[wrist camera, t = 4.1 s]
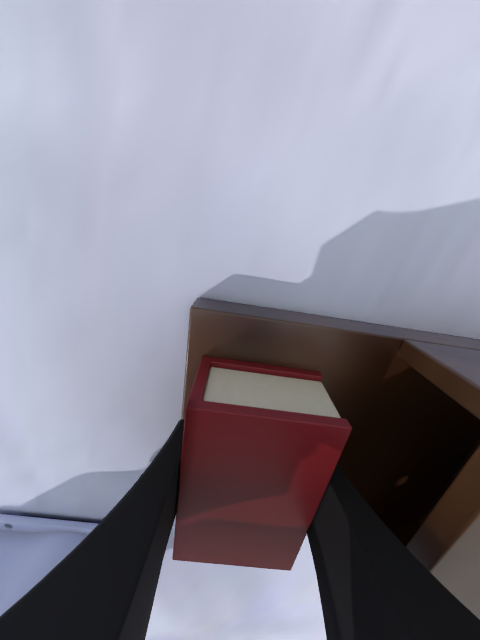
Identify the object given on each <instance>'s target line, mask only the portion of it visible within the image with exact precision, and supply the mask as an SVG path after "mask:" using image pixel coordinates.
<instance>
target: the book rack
mask: <svg viewBox="0 0 480 640" xmlns="http://www.w3.org/2000/svg"><path fill="white" fill-rule="evenodd" d="M202 356H209V357H216V358H223V359H230V360H238V361H245V362H252V363H260V364H267V365H274V366H282V367H289V368H296V369H303V370H311V371H318V372H320V373H321V375H322V380H321V383H322V384H323V386H324V388H325V390H326V392H327V393H328V395H329V397H330V399H331V401H332V402H333V404H334V406H335V408H336V410H337V412H338V413H339V415H340V417H341V418H344V419H347V420H348V422H349V423H350V425H351V427H352V430H351V433H350V435H349V437H348V440H347V442H346V444H345V446H344V449H343V451H342V453H341V456H340V458H339V460H338V463H337V464H338V466H339V467H340V468H341V470H342V471H343V472H344V474H345V475H346V476H347V478H348V479H349V480H350V482H351V483H352V484H353V486H354V487H355V488H356V490H357V491H358V492H359V493H360V495H361V496H362V497H363V498H364V500H365V501H366V502H367V503H368V504H369V506H370V507H371V508H372V509H373V510H374V512H375V513H376V514H377V515H378V516H379V518H380V519H381V520H382V521H383V522H384V523H385V525H386V526H387V527H388V528H389V529H390V530H391V531H392V532H393V533H394V535H395V536H396V537H397V538H398V539H399V540H400V541H401V542H402V543H403V544H404V546H405V547H406V548H407V549H408V550H409V551H410V552H411V553H412V554H413V555H414V556H415V557H416V558H417V559H418V560H419V561H420V562H421V563H422V564H423V565H424V566H425V567H426V568H427V569H428V570H429V571H430V572H431V573H432V574H433V575H434V576H435V578H436V579H437V580H438V581H439V582H440V583H441V584H442V585H443V586H445V587H446V588H447V589H448V590H449V591H450V592H451V593H452V594H453V595H454V596H455V597H456V598H457V599H458V600H459V601H460V602H461V603H462V604H463V605H464V606H465V607H466V608H468V609H469V610H470V611H471V612H472V613H473V614H474V615H475V616H476V617H477V618H478V619H479V620H480V340H477V339H471V338H464V337H457V336H451V335H444V334H437V333H431V332H424V331H418V330H411V329H404V328H398V327H391V326H384V325H378V324H371V323H364V322H358V321H351V320H344V319H338V318H331V317H324V316H318V315H311V314H304V313H298V312H291V311H284V310H278V309H271V308H264V307H258V306H251V305H244V304H238V303H231V302H225V301H218V300H211V299H205V298H197V299H196V301H195V302H194V304H193V305H192V306H191V308H190V318H189V331H188V344H187V356H186V369H185V381H184V394H183V406H182V419H183V420H184V419H185V408H186V405H187V401H188V398H189V395H190V392H191V389H192V386H193V383H194V380H195V377H196V374H197V371H198V368H199V364H200V361H201V358H202Z"/></svg>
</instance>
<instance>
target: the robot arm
mask: <svg viewBox="0 0 480 640" xmlns="http://www.w3.org/2000/svg"><path fill="white" fill-rule="evenodd" d="M183 431H184V420H183V419H181V420H180V421H179V422H178V424H177V425H176V427H175V429H174V431H173V432H172V434H171V435H170V437H169V439H168V440H167V442H166V443H165V445H164V446H163V447H162V449H161V450H160V452H159V453H158V454H157V456H156V457H155V458H154V460H153V461H152V463H151V464H150V465H149V467H148V468H147V469H146V470H145V472H144V473H143V474H142V475H141V477H140V478H139V479H138V480H137V482H136V483H135V484H134V485H133V486H132V488H131V489H130V490H129V491H128V492H127V493H126V495H125V496H124V497H123V498H122V499H121V500H120V501H119V503H118V504H117V505H116V506H115V507H114V508H113V509H112V510H111V511H110V512H109V514H108V515H107V516H106V517H105V518H104V519H103V520H102V521H101V522H100V523H99V524H98V523H88V522H78V521H68V520H57V519H47V518H37V517H27V516H17V515H6V514H0V640H145V637H146V632H147V628H148V623H149V619H150V614H151V610H152V606H153V601H154V597H155V592H156V588H157V583H158V579H159V575H160V570H161V566H162V561H163V557H164V554H165V550H166V546H167V543H168V539H169V536H170V533H171V529H172V526H173V522H174V519H175V516H176V512H177V501H178V489H179V478H180V466H181V454H182V443H183ZM307 535H308V539H309V543H310V548H311V552H312V556H313V560H314V565H315V570H316V575H317V580H318V586H319V592H320V598H321V604H322V610H323V616H324V623H325V629H326V636H327V640H480V620H479V619H478V618H477V617H476V616H475V615H474V614H473V613H472V612H471V611H470V610H469V609H468V608H466V607H465V606H464V605H463V604H462V603H461V602H460V601H459V600H458V599H457V598H456V597H455V596H454V595H453V594H452V593H451V592H450V591H449V590H448V589H447V588H446V587H445V586H443V585H442V584H441V583H440V582H439V581H438V580H437V579H436V578H435V576H434V575H433V574H432V573H431V572H430V571H429V570H428V569H427V568H426V567H425V566H424V565H423V564H422V563H421V562H420V561H419V560H418V559H417V558H416V557H415V556H414V555H413V554H412V553H411V552H410V551H409V550H408V549H407V548H406V547H405V546H404V544H403V543H402V542H401V541H400V540H399V539H398V538H397V537H396V536H395V535H394V533H393V532H392V531H391V530H390V529H389V528H388V527H387V526H386V525H385V523H384V522H383V521H382V520H381V519H380V518H379V516H378V515H377V514H376V513H375V512H374V510H373V509H372V508H371V507H370V506H369V504H368V503H367V502H366V501H365V500H364V498H363V497H362V496H361V495H360V493H359V492H358V491H357V490H356V488H355V487H354V486H353V484H352V483H351V482H350V480H349V479H348V478H347V476H346V475H345V474H344V472H343V471H342V470H341V468H340V467H339V466H338V464H337V465H336V467H335V469H334V472H333V474H332V476H331V479H330V481H329V483H328V485H327V488H326V490H325V492H324V495H323V497H322V499H321V502H320V504H319V506H318V508H317V511H316V513H315V515H314V518H313V520H312V522H311V525H310V527H309V529H308V531H307Z"/></svg>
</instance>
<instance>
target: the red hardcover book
mask: <svg viewBox="0 0 480 640" xmlns="http://www.w3.org/2000/svg"><path fill="white" fill-rule="evenodd" d="M321 380H322V375H321V373H320V372H318V371H311V370H303V369H296V368H289V367H282V366H274V365H267V364H260V363H252V362H245V361H238V360H230V359H223V358H216V357H209V356H202V358H201V361H200V364H199V368H198V371H197V374H196V377H195V380H194V383H193V386H192V389H191V392H190V395H189V398H188V401H187V405H186V408H185V419H184V431H183V443H182V454H181V466H180V478H179V489H178V501H177V513H176V524H175V536H174V548H173V560H180V561H191V562H202V563H213V564H224V565H235V566H246V567H257V568H268V569H279V570H291V568H292V566H293V564H294V561H295V559H296V557H297V554H298V552H299V550H300V548H301V545H302V543H303V541H304V538H305V536H306V534H307V531H308V529H309V527H310V525H311V522H312V520H313V518H314V515H315V513H316V511H317V508H318V506H319V504H320V502H321V499H322V497H323V495H324V492H325V490H326V488H327V485H328V483H329V481H330V479H331V476H332V474H333V472H334V469H335V467H336V465H337V463H338V460H339V458H340V456H341V453H342V451H343V449H344V446H345V444H346V442H347V440H348V437H349V435H350V433H351V430H352V427H351V425H350V423H349V422H348V420H347V419H344V418H341V417H340V415H339V413H338V412H337V410H336V408H335V406H334V404H333V402H332V401H331V399H330V397H329V395H328V393H327V392H326V390H325V388H324V386H323V384H322V383H321Z"/></svg>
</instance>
